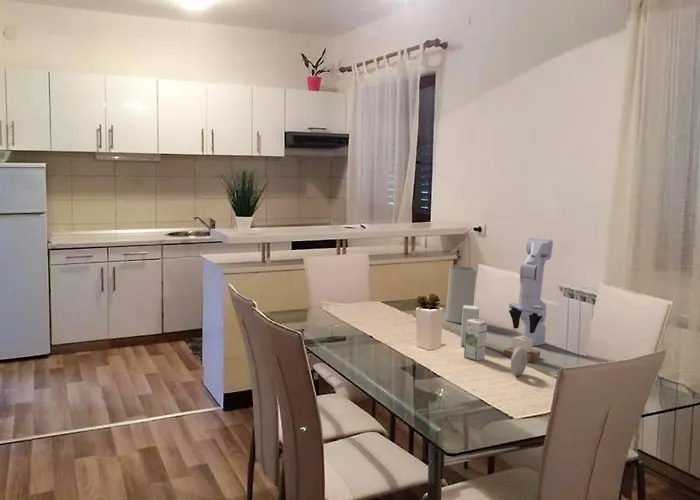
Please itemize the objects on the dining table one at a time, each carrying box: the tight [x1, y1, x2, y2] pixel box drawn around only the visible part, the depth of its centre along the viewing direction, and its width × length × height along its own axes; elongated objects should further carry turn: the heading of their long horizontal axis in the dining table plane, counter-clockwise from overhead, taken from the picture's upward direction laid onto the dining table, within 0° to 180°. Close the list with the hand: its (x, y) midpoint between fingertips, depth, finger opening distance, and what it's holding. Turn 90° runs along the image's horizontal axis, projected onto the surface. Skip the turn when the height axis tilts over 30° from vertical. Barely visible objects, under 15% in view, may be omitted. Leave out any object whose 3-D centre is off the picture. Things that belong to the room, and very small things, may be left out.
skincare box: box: [460, 305, 480, 347], centre depth 266 cm, size 8×7×16 cm
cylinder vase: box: [445, 265, 477, 324], centre depth 309 cm, size 12×12×25 cm
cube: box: [512, 335, 533, 353], centre depth 252 cm, size 5×5×5 cm
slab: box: [502, 346, 541, 363], centre depth 253 cm, size 10×10×3 cm
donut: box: [510, 347, 528, 377], centre depth 228 cm, size 10×4×10 cm, turn 147°
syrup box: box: [463, 319, 488, 361], centre depth 246 cm, size 6×6×14 cm
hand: (523, 330), depth 252 cm, fingers open, 7 cm apart
